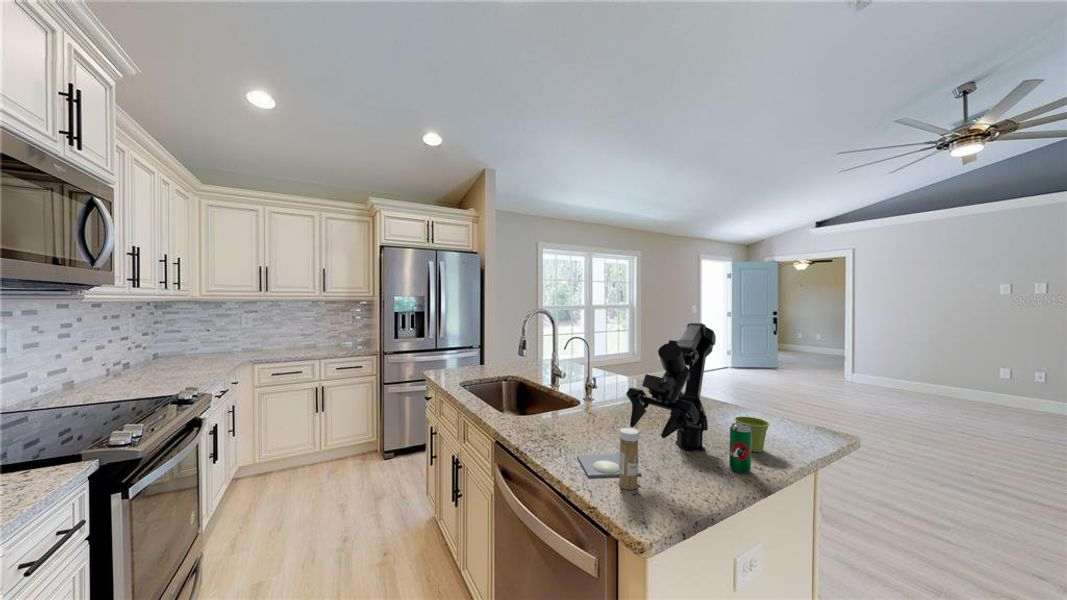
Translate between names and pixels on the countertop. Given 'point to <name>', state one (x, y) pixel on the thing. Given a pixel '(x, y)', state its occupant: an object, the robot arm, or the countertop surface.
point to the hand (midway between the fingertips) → (646, 431)
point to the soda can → (740, 448)
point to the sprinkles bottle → (628, 458)
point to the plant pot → (755, 431)
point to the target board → (601, 465)
